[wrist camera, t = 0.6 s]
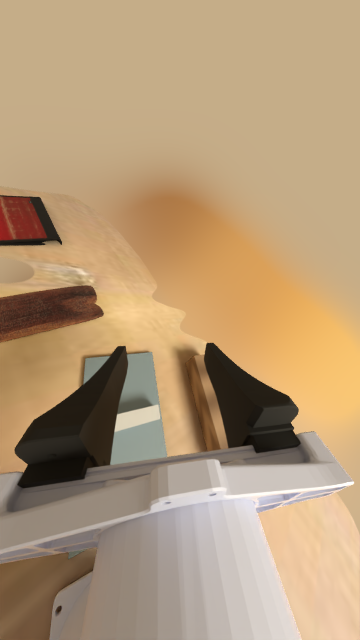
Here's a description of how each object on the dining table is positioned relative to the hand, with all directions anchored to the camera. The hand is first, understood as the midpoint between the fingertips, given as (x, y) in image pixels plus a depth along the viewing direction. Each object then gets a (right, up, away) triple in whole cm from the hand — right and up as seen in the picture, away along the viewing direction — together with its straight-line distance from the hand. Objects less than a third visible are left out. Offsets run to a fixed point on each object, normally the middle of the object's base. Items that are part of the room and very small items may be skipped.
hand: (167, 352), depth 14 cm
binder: (-43, +29, +27) cm, 58 cm away
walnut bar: (+7, -15, +18) cm, 24 cm away
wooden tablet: (-29, +4, +15) cm, 33 cm away
